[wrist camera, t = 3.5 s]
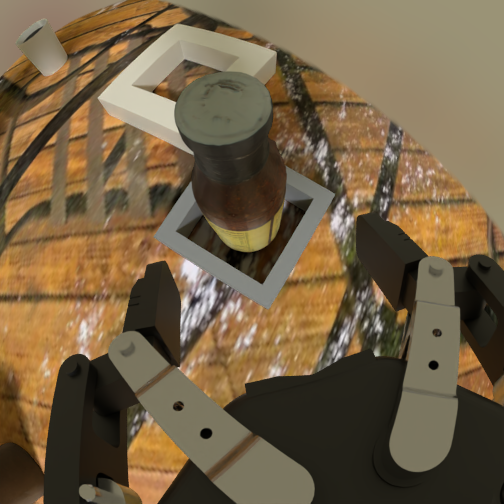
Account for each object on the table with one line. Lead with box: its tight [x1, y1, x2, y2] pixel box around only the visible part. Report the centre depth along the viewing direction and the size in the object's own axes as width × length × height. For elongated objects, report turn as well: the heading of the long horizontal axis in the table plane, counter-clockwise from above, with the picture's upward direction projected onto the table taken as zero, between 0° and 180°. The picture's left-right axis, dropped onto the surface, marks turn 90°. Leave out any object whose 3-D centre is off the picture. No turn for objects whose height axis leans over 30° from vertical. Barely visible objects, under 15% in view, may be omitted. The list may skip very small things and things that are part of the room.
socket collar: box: [98, 24, 277, 155], centre depth 32 cm, size 16×16×4 cm
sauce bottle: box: [174, 71, 287, 253], centre depth 20 cm, size 6×6×20 cm
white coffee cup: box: [16, 19, 67, 76], centre depth 32 cm, size 7×7×10 cm
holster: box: [154, 166, 335, 309], centre depth 28 cm, size 12×12×4 cm
